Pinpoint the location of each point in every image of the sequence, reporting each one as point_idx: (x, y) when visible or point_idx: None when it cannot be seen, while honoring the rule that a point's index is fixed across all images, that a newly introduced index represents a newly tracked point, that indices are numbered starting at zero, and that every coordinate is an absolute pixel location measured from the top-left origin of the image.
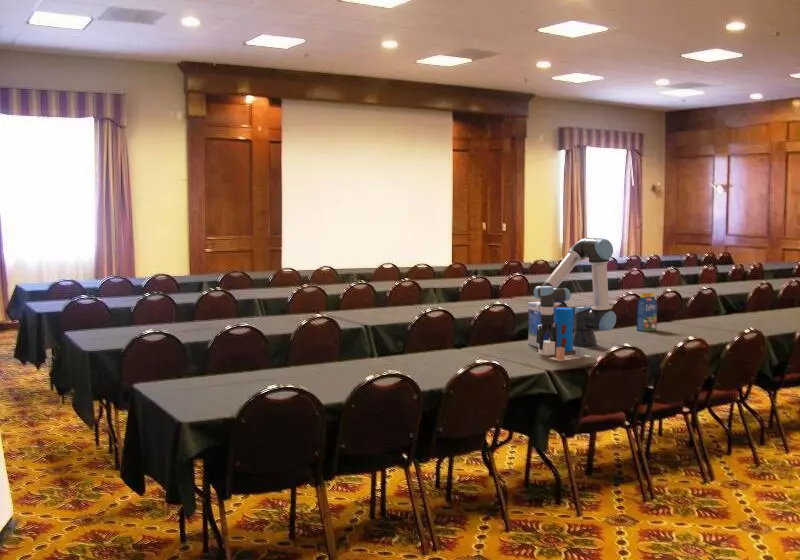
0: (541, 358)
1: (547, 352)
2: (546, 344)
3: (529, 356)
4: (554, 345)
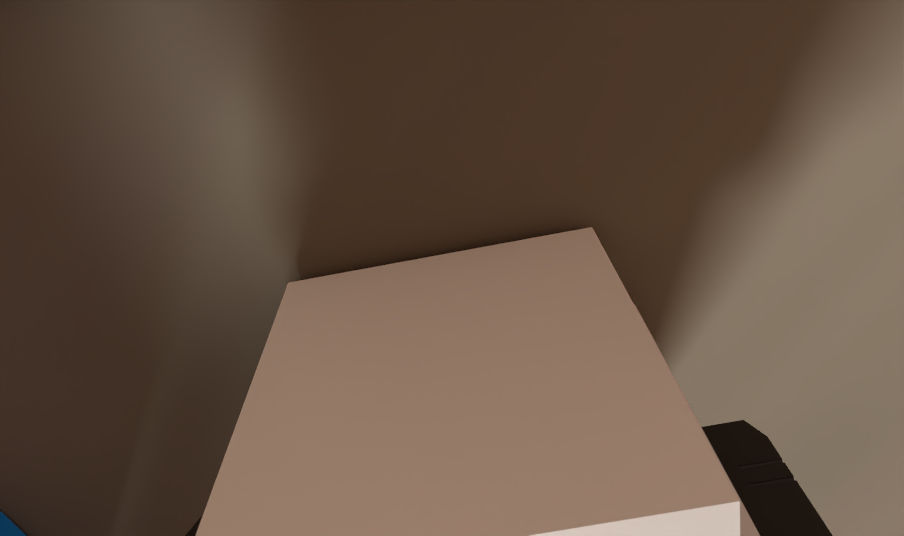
0: (824, 122)
1: (574, 285)
2: (711, 451)
3: (870, 430)
4: (245, 462)
